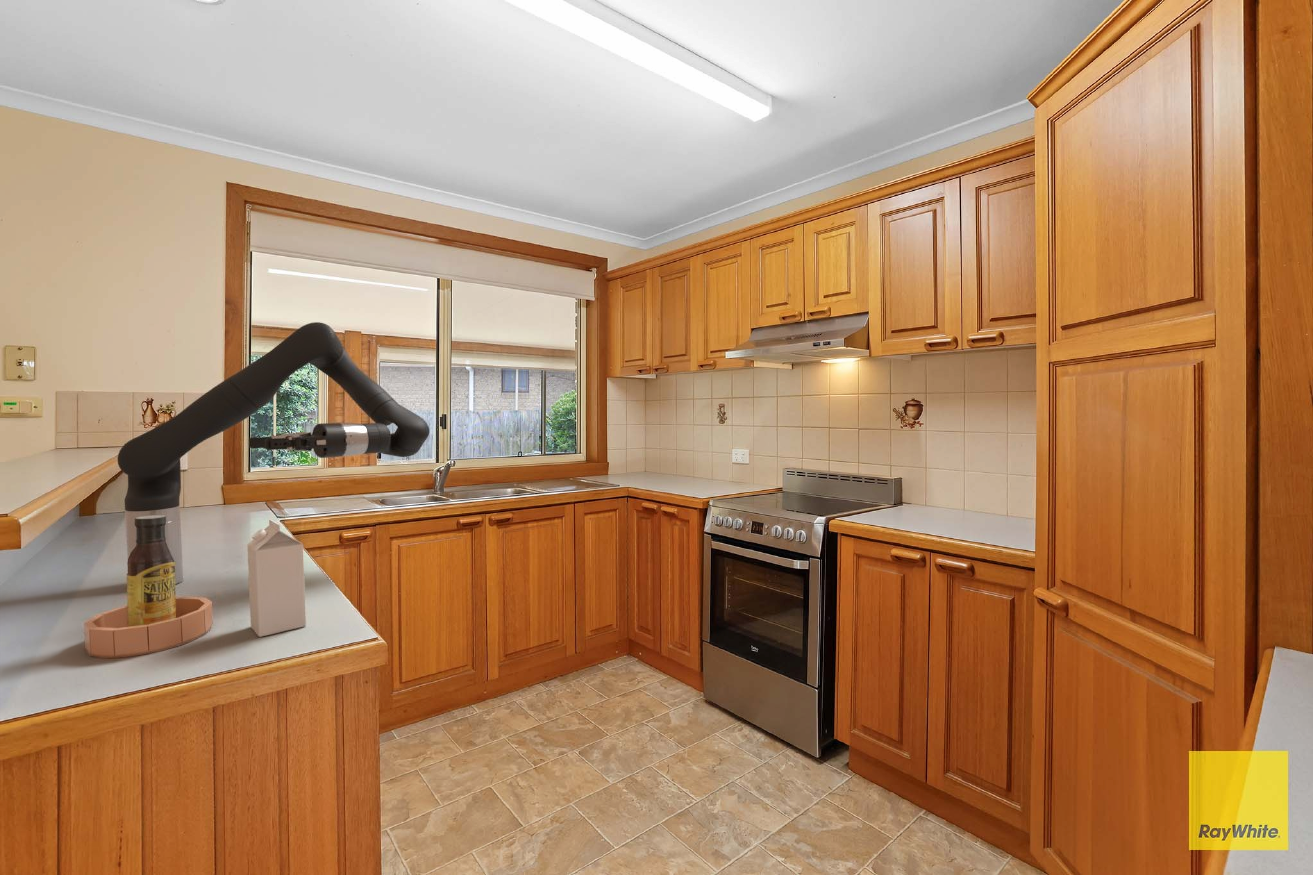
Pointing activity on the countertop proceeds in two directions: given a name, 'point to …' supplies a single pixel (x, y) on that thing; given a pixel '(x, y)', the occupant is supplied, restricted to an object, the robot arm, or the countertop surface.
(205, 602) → the terracotta bowl
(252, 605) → the milk carton
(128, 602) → the sauce bottle
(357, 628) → the countertop surface
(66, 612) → the countertop surface
